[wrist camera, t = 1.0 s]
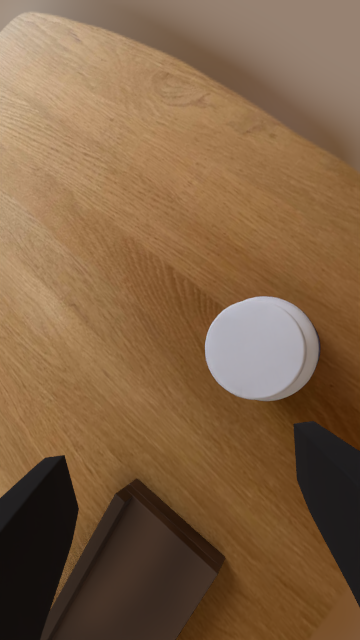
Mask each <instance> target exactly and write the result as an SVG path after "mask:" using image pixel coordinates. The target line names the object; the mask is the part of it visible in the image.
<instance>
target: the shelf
mask: <svg viewBox="0 0 360 640" xmlns="http://www.w3.org/2000/svg"><path fill="white" fill-rule="evenodd" d="M224 560H225V557H224V556H223V555H222V554H221V553H220V552H218V551H217V550H216V549H215V548H214V547H213V546H212V545H211V544H209V543H208V542H207V541H206V540H205V539H204V538H203V537H202V536H201V535H199V534H198V533H197V532H196V531H195V530H194V529H193V528H192V527H191V526H189V525H188V524H187V523H186V522H185V521H184V520H183V519H182V518H180V517H179V516H178V515H177V514H176V513H175V512H174V511H173V510H172V509H170V508H169V507H168V506H167V505H166V504H165V503H164V502H163V501H162V500H160V499H159V498H158V497H157V496H156V495H155V494H154V493H153V492H151V491H150V490H149V489H148V488H147V487H146V486H145V485H144V484H143V483H141V482H140V481H139V480H138V479H135V480H134V481H133V482H131V483H130V484H129V485H127V486H126V487H124V488H123V489H121V490H120V491H119V492H117V493H116V494H115V496H114V497H113V499H112V501H111V503H110V505H109V506H108V508H107V510H106V512H105V513H104V515H103V517H102V519H101V521H100V522H99V524H98V526H97V528H96V530H95V531H94V533H93V535H92V537H91V539H90V540H89V542H88V544H87V546H86V548H85V549H84V551H83V553H82V555H81V556H80V558H79V560H78V562H77V564H76V565H75V567H74V569H73V571H72V573H71V574H70V576H69V578H68V580H67V582H66V583H65V585H64V587H63V589H62V591H61V592H60V594H59V596H58V598H57V599H56V601H55V603H54V605H53V607H52V608H51V610H50V612H49V614H48V617H47V620H46V623H45V626H44V629H43V632H42V635H41V639H40V640H176V638H177V637H178V635H179V634H180V632H181V630H182V629H183V627H184V626H185V624H186V623H187V621H188V620H189V618H190V616H191V615H192V613H193V612H194V610H195V609H196V607H197V606H198V604H199V603H200V601H201V599H202V598H203V596H204V595H205V593H206V592H207V590H208V589H209V587H210V585H211V584H212V582H213V581H214V579H215V578H216V576H217V575H218V573H219V570H220V568H221V566H222V564H223V562H224Z"/></svg>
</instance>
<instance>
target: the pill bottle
mask: <svg viewBox="0 0 360 640" xmlns="http://www.w3.org/2000/svg"><path fill="white" fill-rule="evenodd" d="M205 355H206V361H207V364H208V367H209V370H210V372H211V373H212V375H213V377H214V378H215V380H216V381H217V382H218V383H219V384H220V385H221V386H222V387H223V388H224V389H226V390H227V391H229V392H230V393H232V394H234V395H236V396H238V397H241V398H245V399H251V400H260V401H273V400H279V399H283V398H285V397H288V396H290V395H292V394H294V393H295V392H297V391H298V390H300V389H301V388H302V387H303V386H304V385H305V384H306V383H307V382H308V381H309V379H310V378H311V376H312V375H313V373H314V371H315V368H316V365H317V363H318V360H319V356H320V341H319V337H318V334H317V331H316V329H315V328H314V326H313V324H312V323H311V321H310V320H309V318H308V317H307V316H306V315H305V313H304V312H302V311H301V310H300V309H299V308H298V307H296V306H295V305H293V304H291V303H290V302H287V301H285V300H282V299H279V298H275V297H266V296H261V297H254V298H250V299H247V300H244V301H242V302H238V303H235V304H233V305H231V306H229V307H228V308H226V309H225V310H223V311H222V312H221V313H220V314H219V315H218V316H217V317H216V319H215V320H214V321H213V323H212V324H211V326H210V328H209V331H208V333H207V337H206V342H205Z"/></svg>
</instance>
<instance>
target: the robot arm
mask: <svg viewBox="0 0 360 640" xmlns="http://www.w3.org/2000/svg"><path fill="white" fill-rule="evenodd" d="M294 439H295V455H296V471H297V481H298V483H299V486H300V488H301V491H302V494H303V496H304V499H305V501H306V504H307V506H308V509H309V511H310V513H311V515H312V517H313V519H314V521H315V523H316V525H317V527H318V529H319V530H320V532H321V534H322V536H323V538H324V540H325V542H326V544H327V546H328V547H329V549H330V551H331V553H332V555H333V557H334V559H335V561H336V562H337V564H338V566H339V568H340V570H341V572H342V574H343V576H344V577H345V579H346V581H347V583H348V585H349V587H350V589H351V591H352V593H353V595H354V596H355V599H356V601H357V603H358V605H359V607H360V451H359V450H357V449H355V448H354V447H352V446H351V445H349V444H348V443H346V442H345V441H343V440H342V439H340V438H339V437H337V436H336V435H334V434H333V433H331V432H330V431H328V430H326V429H325V428H323V427H322V426H320V425H319V424H317V423H316V422H314V421H310V422H303V423H296V424H294ZM78 510H79V508H78V504H77V500H76V496H75V493H74V489H73V485H72V482H71V478H70V474H69V470H68V467H67V463H66V459H65V455H62V456H55V457H48V458H45V459H43V460H42V461H41V462H40V463H38V464H37V465H36V466H35V467H34V468H33V469H32V470H31V471H29V472H28V473H27V474H26V475H25V476H24V477H23V478H22V479H21V480H20V481H19V482H17V483H16V484H15V485H14V486H13V487H12V488H11V489H10V490H9V491H8V492H7V493H5V494H4V495H3V496H2V497H1V498H0V640H40V639H41V635H42V632H43V629H44V626H45V623H46V620H47V617H48V614H49V611H50V608H51V605H52V602H53V599H54V596H55V593H56V590H57V587H58V584H59V581H60V578H61V575H62V572H63V569H64V566H65V563H66V560H67V557H68V553H69V550H70V547H71V544H72V540H73V535H74V531H75V526H76V520H77V515H78Z"/></svg>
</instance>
